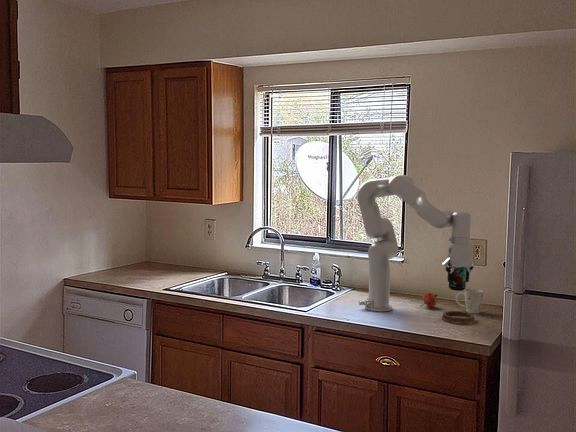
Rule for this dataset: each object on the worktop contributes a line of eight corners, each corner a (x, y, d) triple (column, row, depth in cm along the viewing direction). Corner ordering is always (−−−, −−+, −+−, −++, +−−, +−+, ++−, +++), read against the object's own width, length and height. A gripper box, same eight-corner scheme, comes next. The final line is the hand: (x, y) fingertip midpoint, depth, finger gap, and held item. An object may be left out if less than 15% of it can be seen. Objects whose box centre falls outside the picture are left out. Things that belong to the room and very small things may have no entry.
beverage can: (445, 288, 274) (446, 261, 273) (454, 286, 279) (456, 259, 278) (459, 291, 269) (461, 263, 268) (468, 289, 274) (470, 262, 272)
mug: (479, 315, 286) (480, 293, 285) (452, 311, 293) (453, 289, 292) (484, 311, 293) (485, 290, 292) (457, 307, 300) (458, 286, 299)
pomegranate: (422, 313, 296) (440, 302, 293) (413, 300, 298) (431, 289, 294) (425, 311, 303) (443, 301, 299) (417, 298, 304) (434, 287, 301)
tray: (453, 325, 268) (454, 319, 268) (435, 317, 281) (435, 311, 281) (481, 323, 273) (481, 317, 272) (462, 314, 286) (462, 309, 286)
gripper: (447, 242, 265) (445, 284, 267) (483, 241, 271) (480, 282, 272) (437, 240, 272) (435, 280, 274) (472, 239, 278) (470, 279, 279)
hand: (458, 281), depth 273 cm, fingers closed on beverage can, 7 cm apart
